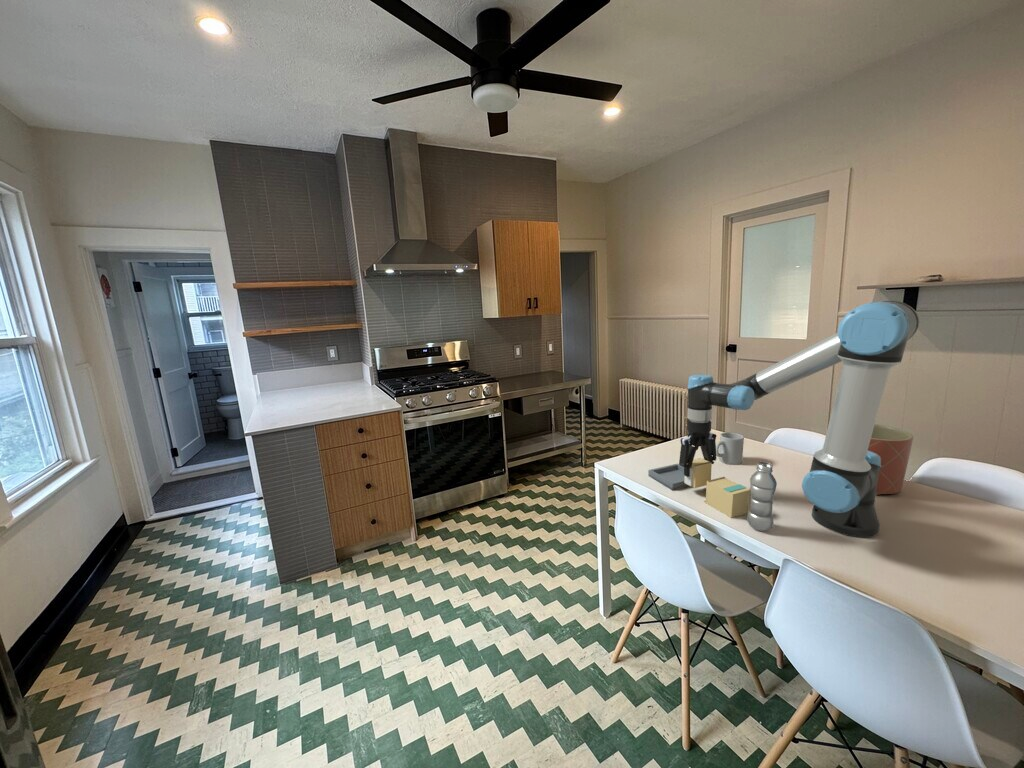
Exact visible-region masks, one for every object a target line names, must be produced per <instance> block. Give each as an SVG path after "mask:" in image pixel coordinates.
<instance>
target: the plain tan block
mask: <svg viewBox="0 0 1024 768" xmlns="http://www.w3.org/2000/svg"><path fill="white" fill-rule="evenodd" d="M687 464H688V463H687ZM712 465H713V464H712V463H711V462H709V461H707V460H704V458H701V457H699V458H694V459H693V462H692V465H691V468H693V480H692V486H691V487H692V488H693V489H698V488H701V487H707V481H709V480H712ZM684 483H685V476H684Z"/></svg>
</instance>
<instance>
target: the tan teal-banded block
mask: <svg viewBox="0 0 1024 768" xmlns="http://www.w3.org/2000/svg"><path fill="white" fill-rule="evenodd" d="M705 487H706V491H705V500H704V501H703V502H704V503H705V504H707V505H708V506H710V507H712V508H713V509H716V511H719V512H720V513H722V514H724V515H725V514H726V516H727V517H729V518H730V519H732V517H733V518H736V517H740V516H742V515H747V514H748V511H749V508H750V497H751V488H750V489H749V488H747V487H746V486H744V485H742V484H740V483H737V482H735V481H732V480H730V479H728V478H726V477H725V476H721V477H718V478H712V479H711V480H709V481H707V485H706V486H705ZM739 515H740V516H739ZM735 516H736V517H735Z"/></svg>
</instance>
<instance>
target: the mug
mask: <svg viewBox="0 0 1024 768" xmlns="http://www.w3.org/2000/svg"><path fill="white" fill-rule="evenodd" d="M744 443H745V437H744V435H742V434H740V433H736V432H721V434H720V437H719V441H717V442H716V457H718V460H719V461H720V462H721V463H723V464H727V465H732V466H737V465H740V464H742V463H743V457H744V454H743V453H744Z"/></svg>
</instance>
